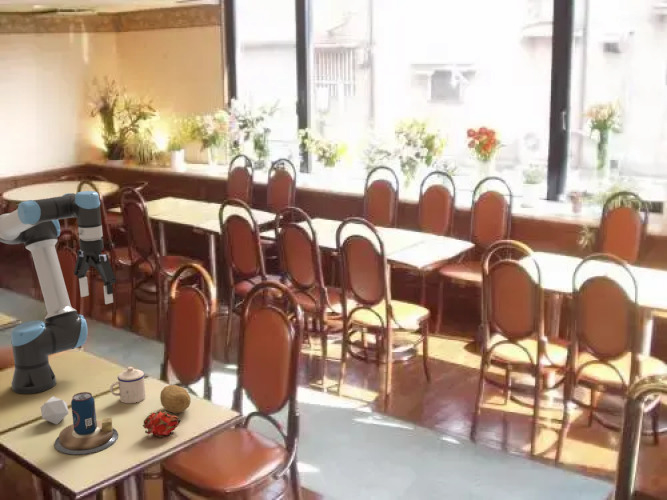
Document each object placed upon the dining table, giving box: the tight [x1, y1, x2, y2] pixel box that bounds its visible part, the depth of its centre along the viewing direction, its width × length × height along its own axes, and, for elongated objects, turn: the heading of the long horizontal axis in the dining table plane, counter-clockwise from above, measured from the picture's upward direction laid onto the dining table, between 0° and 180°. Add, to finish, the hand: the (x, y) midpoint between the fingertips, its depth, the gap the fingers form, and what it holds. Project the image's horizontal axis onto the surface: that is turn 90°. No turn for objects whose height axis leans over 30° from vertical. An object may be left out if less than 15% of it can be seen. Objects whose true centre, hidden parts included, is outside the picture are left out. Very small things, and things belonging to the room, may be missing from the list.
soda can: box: [70, 391, 97, 436], centre depth 251 cm, size 7×7×12 cm
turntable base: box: [54, 427, 119, 456], centre depth 253 cm, size 19×19×1 cm
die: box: [40, 395, 69, 425], centre depth 266 cm, size 8×9×10 cm
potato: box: [159, 384, 191, 414], centre depth 272 cm, size 10×14×8 cm
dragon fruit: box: [142, 410, 181, 439], centre depth 255 cm, size 8×8×12 cm
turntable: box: [58, 417, 114, 450], centre depth 253 cm, size 16×16×5 cm
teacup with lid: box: [109, 366, 146, 404], centre depth 281 cm, size 12×9×12 cm
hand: (96, 299), depth 273 cm, fingers open, 13 cm apart
